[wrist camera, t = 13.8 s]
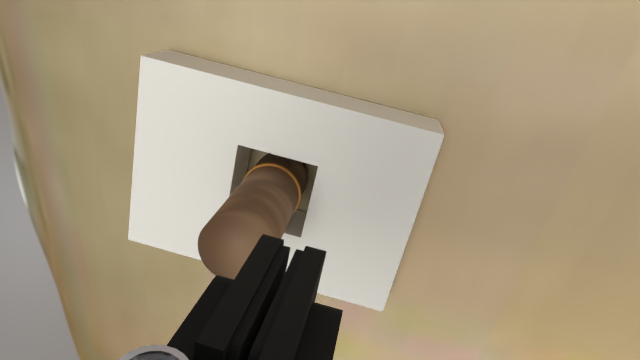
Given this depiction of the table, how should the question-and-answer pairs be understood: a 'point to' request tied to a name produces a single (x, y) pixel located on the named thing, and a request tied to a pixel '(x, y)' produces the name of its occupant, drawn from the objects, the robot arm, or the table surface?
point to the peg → (252, 214)
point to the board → (287, 141)
